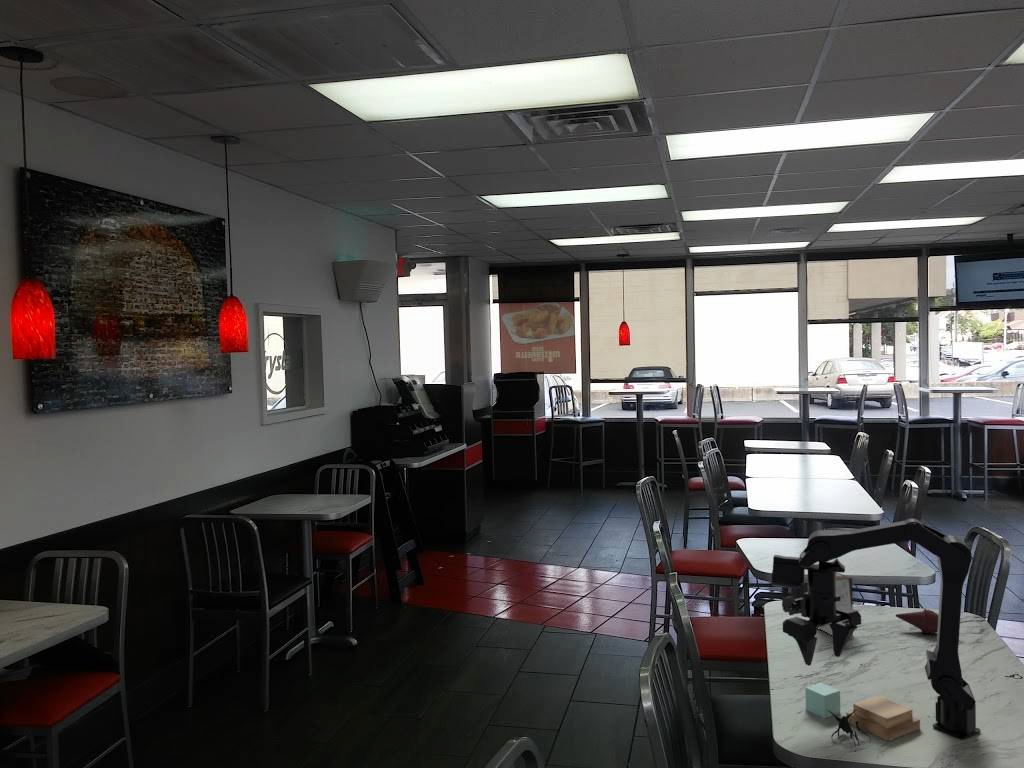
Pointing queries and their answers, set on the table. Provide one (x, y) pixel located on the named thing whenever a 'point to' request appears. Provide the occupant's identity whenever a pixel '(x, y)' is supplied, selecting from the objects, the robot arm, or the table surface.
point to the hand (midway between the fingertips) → (822, 660)
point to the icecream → (922, 620)
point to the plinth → (884, 730)
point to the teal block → (822, 700)
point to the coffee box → (842, 595)
